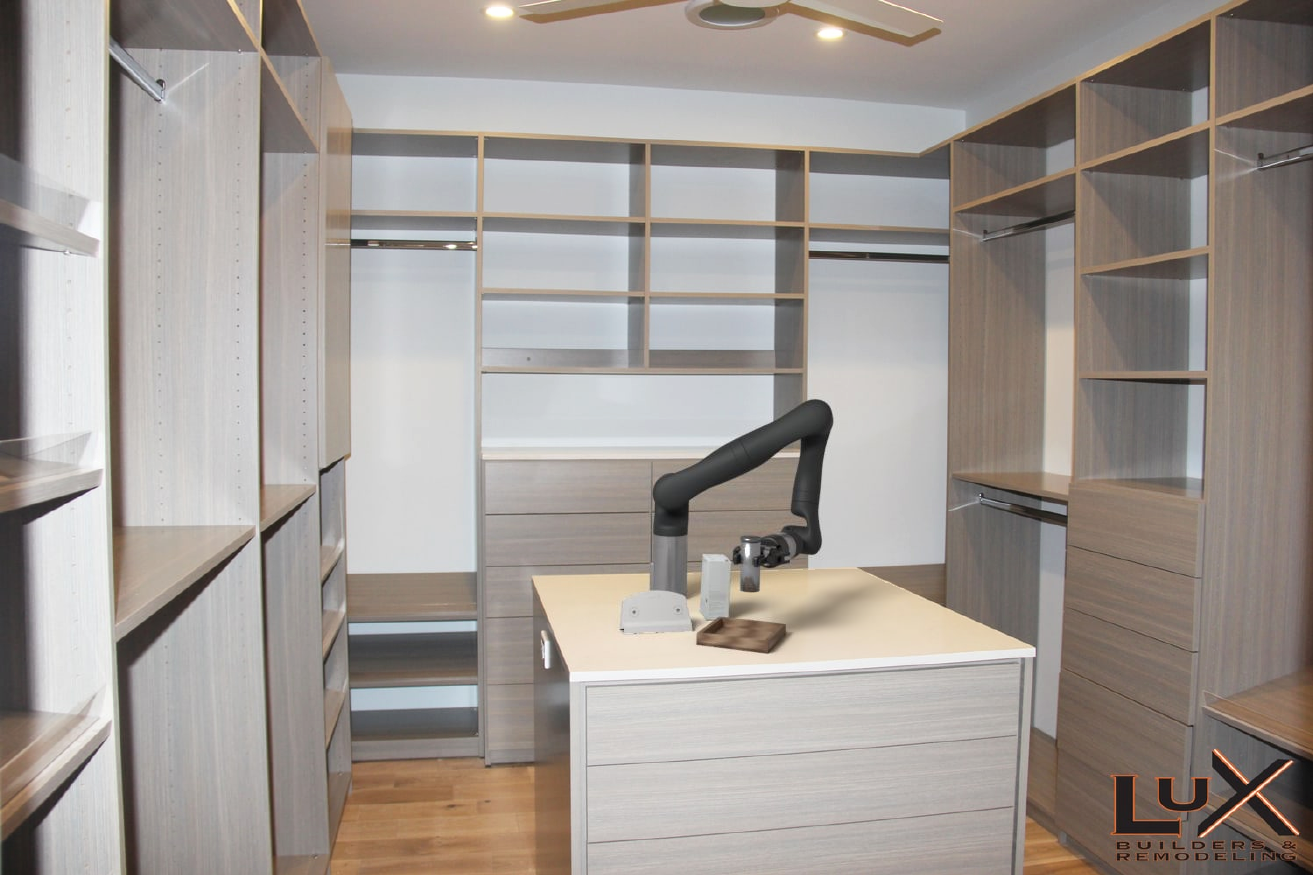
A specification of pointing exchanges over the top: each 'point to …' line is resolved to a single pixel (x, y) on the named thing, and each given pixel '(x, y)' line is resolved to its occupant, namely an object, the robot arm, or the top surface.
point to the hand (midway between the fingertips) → (745, 561)
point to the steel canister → (749, 564)
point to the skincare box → (715, 586)
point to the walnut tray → (741, 634)
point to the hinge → (655, 612)
